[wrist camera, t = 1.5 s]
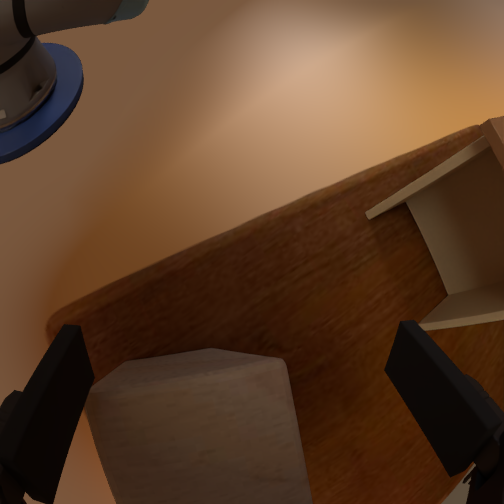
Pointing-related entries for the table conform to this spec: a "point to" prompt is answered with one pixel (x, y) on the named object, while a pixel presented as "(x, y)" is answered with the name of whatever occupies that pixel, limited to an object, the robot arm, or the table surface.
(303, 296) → the table surface
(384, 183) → the table surface
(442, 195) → the desk
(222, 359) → the wooden block
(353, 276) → the table surface
